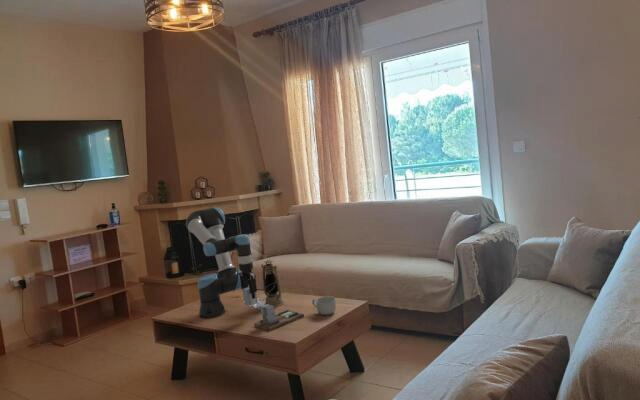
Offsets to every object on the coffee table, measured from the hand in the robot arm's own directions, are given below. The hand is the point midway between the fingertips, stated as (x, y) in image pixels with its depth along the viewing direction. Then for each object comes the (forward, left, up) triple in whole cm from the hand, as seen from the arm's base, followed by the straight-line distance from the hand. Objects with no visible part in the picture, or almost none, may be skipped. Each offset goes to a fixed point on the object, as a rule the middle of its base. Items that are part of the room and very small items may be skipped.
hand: (250, 303), depth 262 cm
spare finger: (0, 0, 0) cm, 0 cm away
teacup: (+30, +27, -9) cm, 42 cm away
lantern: (-10, +22, -9) cm, 26 cm away
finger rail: (+17, +5, -9) cm, 20 cm away
